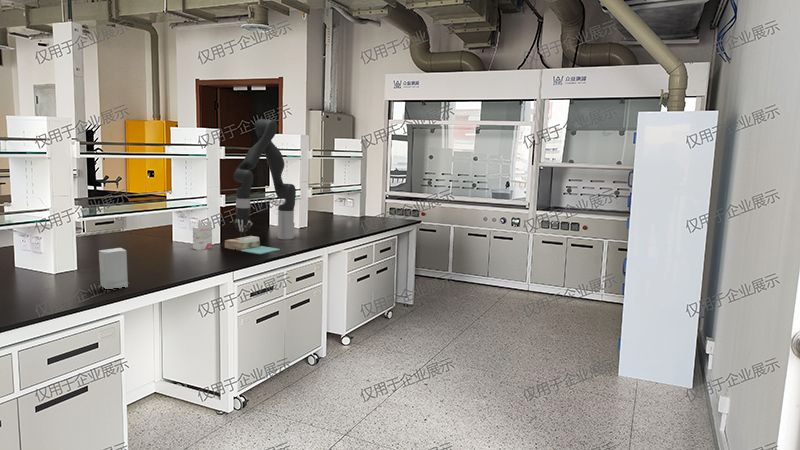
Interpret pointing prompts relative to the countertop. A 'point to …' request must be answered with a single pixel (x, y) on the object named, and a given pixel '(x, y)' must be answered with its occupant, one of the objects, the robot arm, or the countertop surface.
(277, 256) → the countertop surface
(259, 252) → the mat
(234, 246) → the deck
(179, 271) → the countertop surface
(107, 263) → the skincare box
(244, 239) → the slide case
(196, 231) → the ink cartridge box
